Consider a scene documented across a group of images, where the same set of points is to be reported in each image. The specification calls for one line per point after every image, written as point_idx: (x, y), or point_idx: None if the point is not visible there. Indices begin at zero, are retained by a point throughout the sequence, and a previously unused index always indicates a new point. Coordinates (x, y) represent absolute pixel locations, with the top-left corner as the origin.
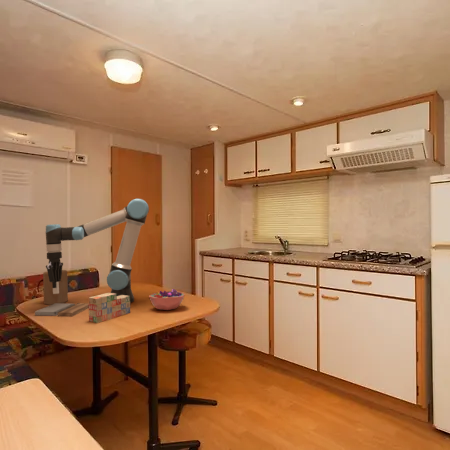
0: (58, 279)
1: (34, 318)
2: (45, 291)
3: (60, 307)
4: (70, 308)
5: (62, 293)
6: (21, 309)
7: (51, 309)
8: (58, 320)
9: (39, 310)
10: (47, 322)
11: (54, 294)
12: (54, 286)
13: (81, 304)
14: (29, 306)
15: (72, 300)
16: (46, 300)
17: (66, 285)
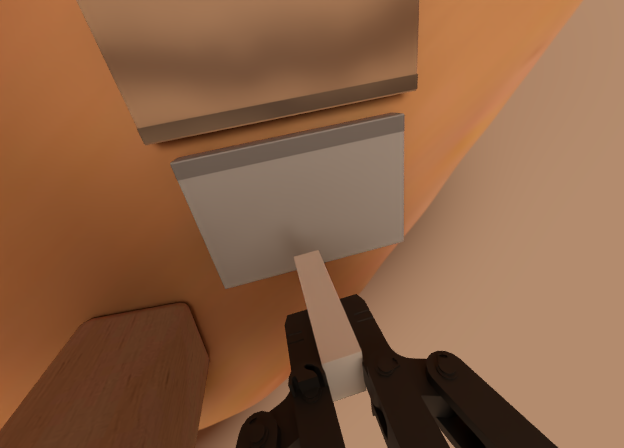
0: (323, 405)
1: (430, 197)
2: (194, 428)
3: (299, 179)
4: (305, 77)
5: (110, 362)
6: None
7: (355, 193)
8: (476, 12)
9: (383, 236)
10: (506, 58)
11: (178, 367)
12: (368, 311)
13: (163, 77)
14: (258, 375)
15: (43, 316)
16: (203, 366)
17: (8, 440)
